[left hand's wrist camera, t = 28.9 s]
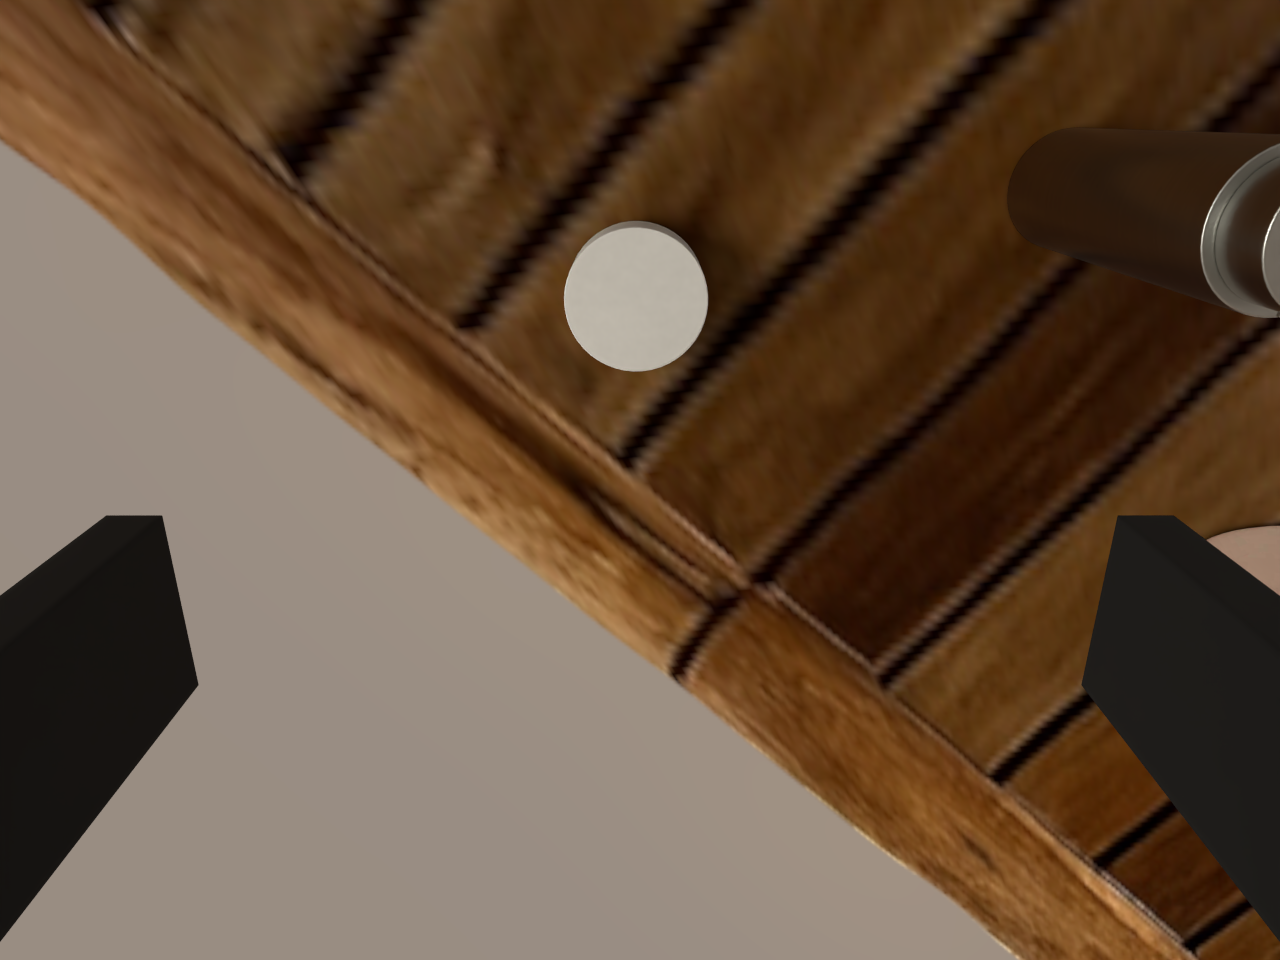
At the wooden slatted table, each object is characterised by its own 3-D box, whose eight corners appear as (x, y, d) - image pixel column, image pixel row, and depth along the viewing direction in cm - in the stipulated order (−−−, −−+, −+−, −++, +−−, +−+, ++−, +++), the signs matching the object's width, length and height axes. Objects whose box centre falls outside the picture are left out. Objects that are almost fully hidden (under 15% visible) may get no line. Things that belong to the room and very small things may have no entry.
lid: (547, 249, 36) (542, 257, 34) (678, 200, 36) (681, 205, 34) (596, 375, 38) (594, 390, 36) (722, 331, 38) (726, 344, 36)
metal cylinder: (1132, 224, 36) (1452, 297, 22) (1019, 264, 37) (1259, 360, 22) (1114, 109, 34) (1446, 106, 20) (995, 152, 35) (1238, 180, 21)
